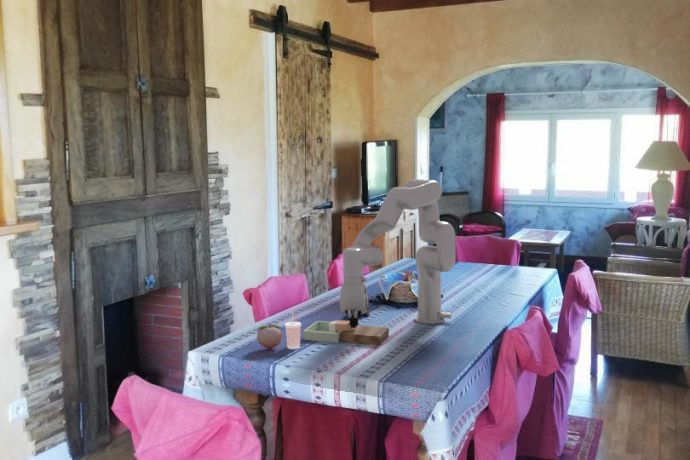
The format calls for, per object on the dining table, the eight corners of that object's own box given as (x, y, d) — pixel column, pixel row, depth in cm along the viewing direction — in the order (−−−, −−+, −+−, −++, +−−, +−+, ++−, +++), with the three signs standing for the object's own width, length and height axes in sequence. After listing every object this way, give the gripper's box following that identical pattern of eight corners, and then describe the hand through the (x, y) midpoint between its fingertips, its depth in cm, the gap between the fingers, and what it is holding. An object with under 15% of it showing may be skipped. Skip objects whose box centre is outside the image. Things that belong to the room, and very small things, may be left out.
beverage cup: (286, 344, 255) (285, 308, 253) (302, 344, 254) (301, 308, 252) (284, 349, 248) (283, 312, 247) (301, 349, 248) (300, 312, 246)
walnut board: (388, 336, 263) (388, 327, 262) (379, 345, 252) (379, 336, 251) (349, 333, 268) (349, 324, 268) (339, 341, 257) (339, 332, 256)
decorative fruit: (261, 354, 244) (260, 327, 242) (255, 348, 251) (254, 321, 250) (286, 350, 247) (285, 324, 246) (279, 344, 255) (278, 318, 253)
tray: (350, 332, 269) (350, 323, 269) (337, 342, 256) (337, 333, 255) (317, 329, 274) (317, 320, 274) (303, 339, 261) (303, 330, 260)
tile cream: (338, 320, 265) (333, 320, 266) (334, 324, 260) (328, 324, 261) (340, 333, 266) (334, 333, 267) (336, 336, 261) (330, 336, 262)
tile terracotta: (351, 327, 264) (351, 321, 263) (347, 330, 259) (347, 324, 259) (339, 326, 265) (339, 320, 265) (335, 330, 260) (334, 324, 260)
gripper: (375, 279, 259) (375, 326, 262) (338, 277, 264) (338, 323, 267) (369, 283, 252) (369, 331, 255) (331, 281, 257) (332, 328, 259)
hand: (353, 326), depth 261 cm, fingers closed
